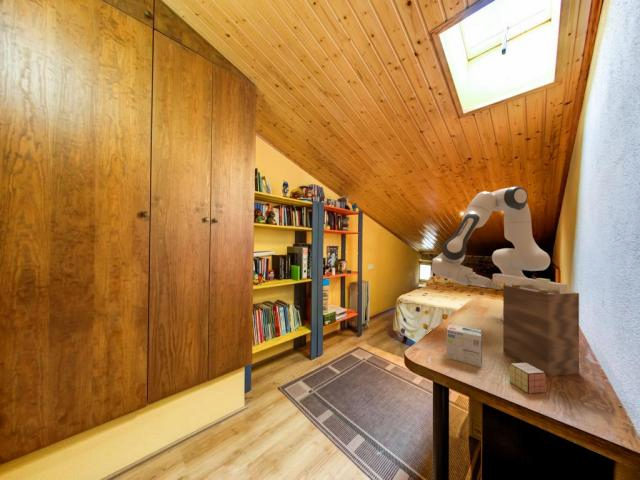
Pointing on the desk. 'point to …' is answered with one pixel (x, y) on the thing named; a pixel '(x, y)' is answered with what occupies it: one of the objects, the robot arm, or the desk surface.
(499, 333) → the desk surface
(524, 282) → the sighting bar
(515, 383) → the puzzle toy
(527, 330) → the plinth
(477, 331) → the light bulb box
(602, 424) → the desk surface
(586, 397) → the desk surface
